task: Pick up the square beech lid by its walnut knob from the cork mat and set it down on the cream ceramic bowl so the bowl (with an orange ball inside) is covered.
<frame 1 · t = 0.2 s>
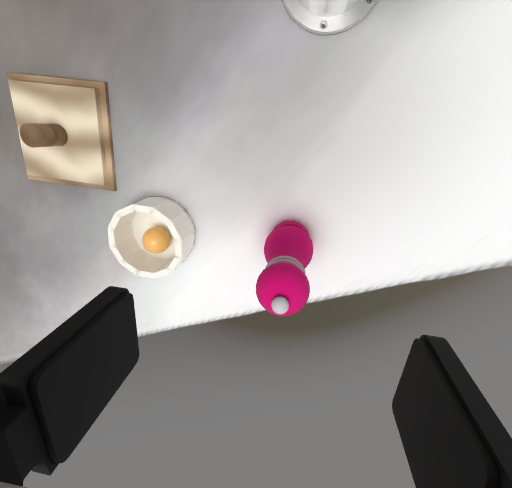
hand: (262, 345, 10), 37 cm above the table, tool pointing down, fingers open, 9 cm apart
bowl: (162, 230, 50), on the table
pepper mill: (290, 238, 47), on the table
lid: (63, 134, 46), point 1 cm above the table, touching mat
orange ball: (162, 235, 49), point 1 cm above the table, touching bowl
mat: (66, 134, 46), on the table
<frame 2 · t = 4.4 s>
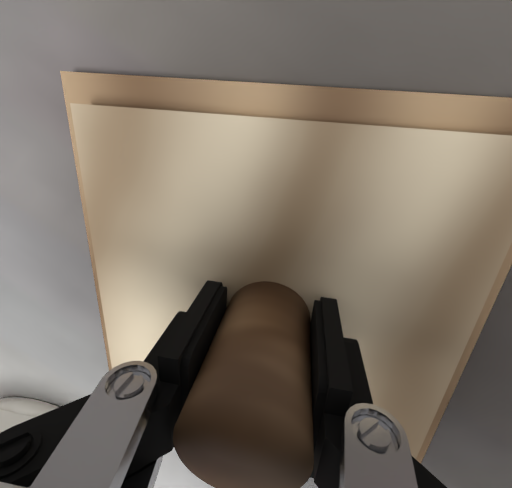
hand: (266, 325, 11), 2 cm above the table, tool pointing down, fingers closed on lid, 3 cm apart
bowl: (54, 460, 20), on the table
lid: (270, 303, 12), point 1 cm above the table, touching gripper, mat
mat: (272, 295, 12), on the table
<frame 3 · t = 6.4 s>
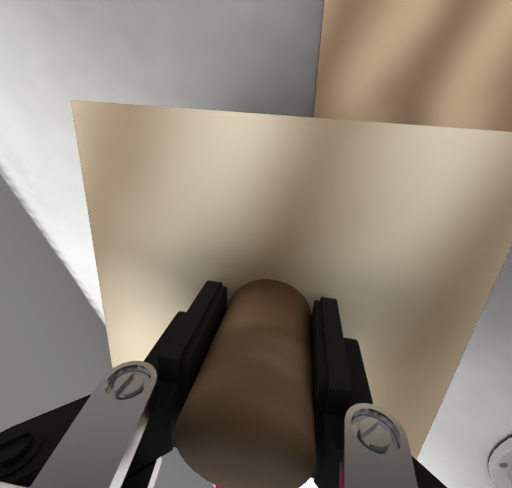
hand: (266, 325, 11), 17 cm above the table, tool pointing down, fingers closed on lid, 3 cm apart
lid: (271, 301, 12), point 16 cm above the table, touching gripper
mat: (429, 72, 21), on the table
when the fingers open (9 cm above the table, at t = 8.6 s): lid drops 1 cm, resting on bowl.
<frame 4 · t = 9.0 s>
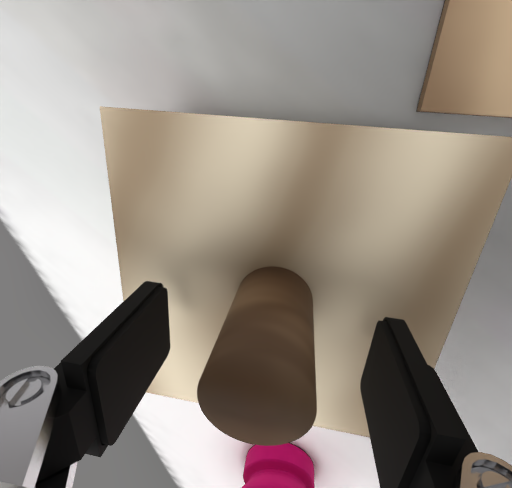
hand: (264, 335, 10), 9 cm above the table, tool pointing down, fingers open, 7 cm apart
pepper mill: (279, 460, 27), on the table
lid: (276, 288, 13), point 6 cm above the table, touching bowl
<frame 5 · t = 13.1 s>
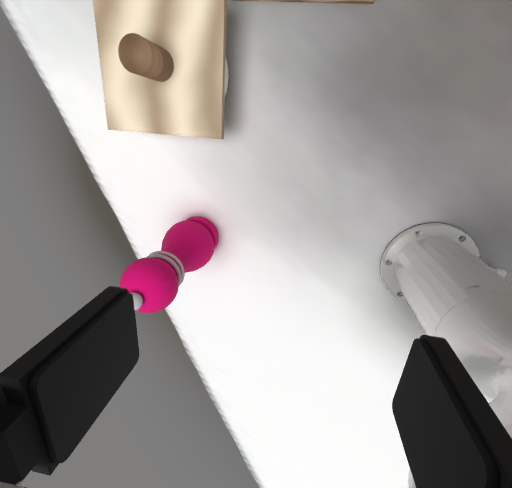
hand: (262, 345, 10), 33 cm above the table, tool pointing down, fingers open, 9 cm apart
pepper mill: (199, 234, 46), on the table
lid: (163, 66, 32), point 6 cm above the table, touching bowl
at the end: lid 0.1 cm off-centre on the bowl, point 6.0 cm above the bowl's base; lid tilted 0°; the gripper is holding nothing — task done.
